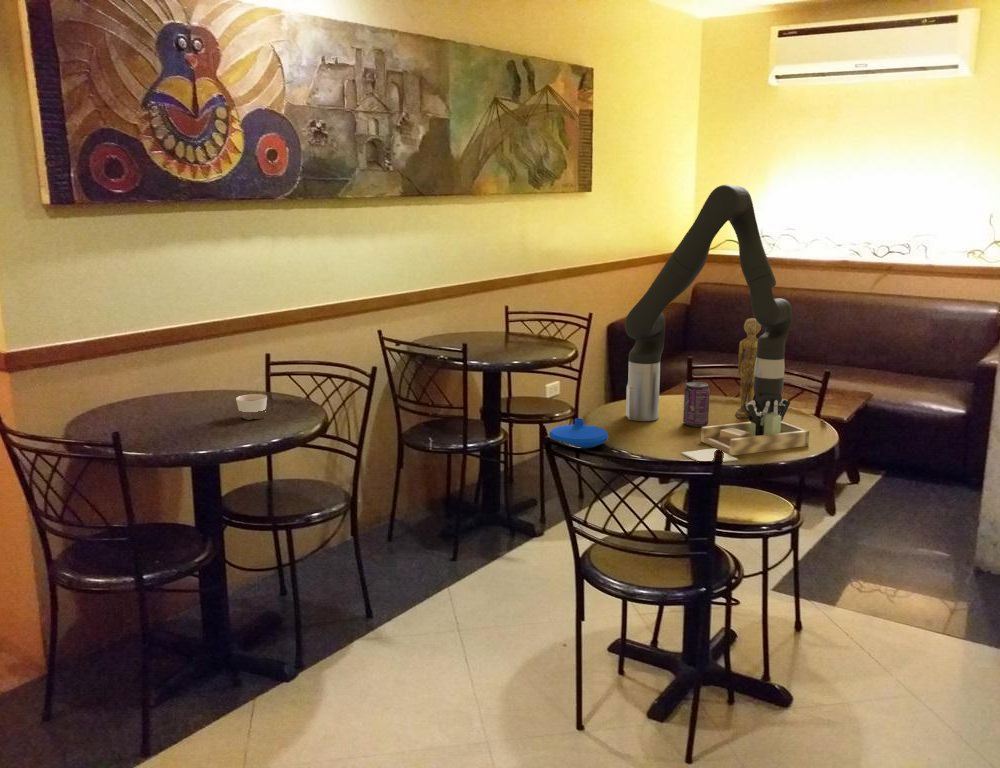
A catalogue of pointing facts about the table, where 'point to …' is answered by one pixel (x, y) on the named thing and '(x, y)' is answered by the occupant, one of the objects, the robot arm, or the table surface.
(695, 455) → the mat
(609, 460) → the table surface
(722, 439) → the offcut lower
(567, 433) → the blue rounded knobbed disc
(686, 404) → the beverage can
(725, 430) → the offcut upper
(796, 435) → the tray
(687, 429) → the table surface
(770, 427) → the block
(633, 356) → the robot arm
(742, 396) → the sculpture
